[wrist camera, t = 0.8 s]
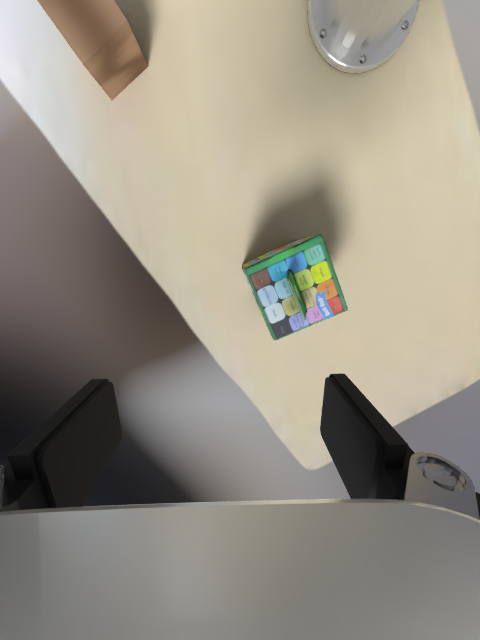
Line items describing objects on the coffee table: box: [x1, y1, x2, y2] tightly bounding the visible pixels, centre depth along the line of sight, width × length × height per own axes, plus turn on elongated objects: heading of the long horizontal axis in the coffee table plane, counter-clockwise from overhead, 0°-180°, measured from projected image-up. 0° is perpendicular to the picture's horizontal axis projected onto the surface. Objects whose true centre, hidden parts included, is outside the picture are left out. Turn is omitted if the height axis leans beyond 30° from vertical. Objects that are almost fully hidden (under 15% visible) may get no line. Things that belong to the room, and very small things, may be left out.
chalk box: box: [242, 234, 348, 340], centre depth 29 cm, size 9×9×15 cm
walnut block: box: [38, 0, 148, 100], centre depth 26 cm, size 6×6×6 cm
